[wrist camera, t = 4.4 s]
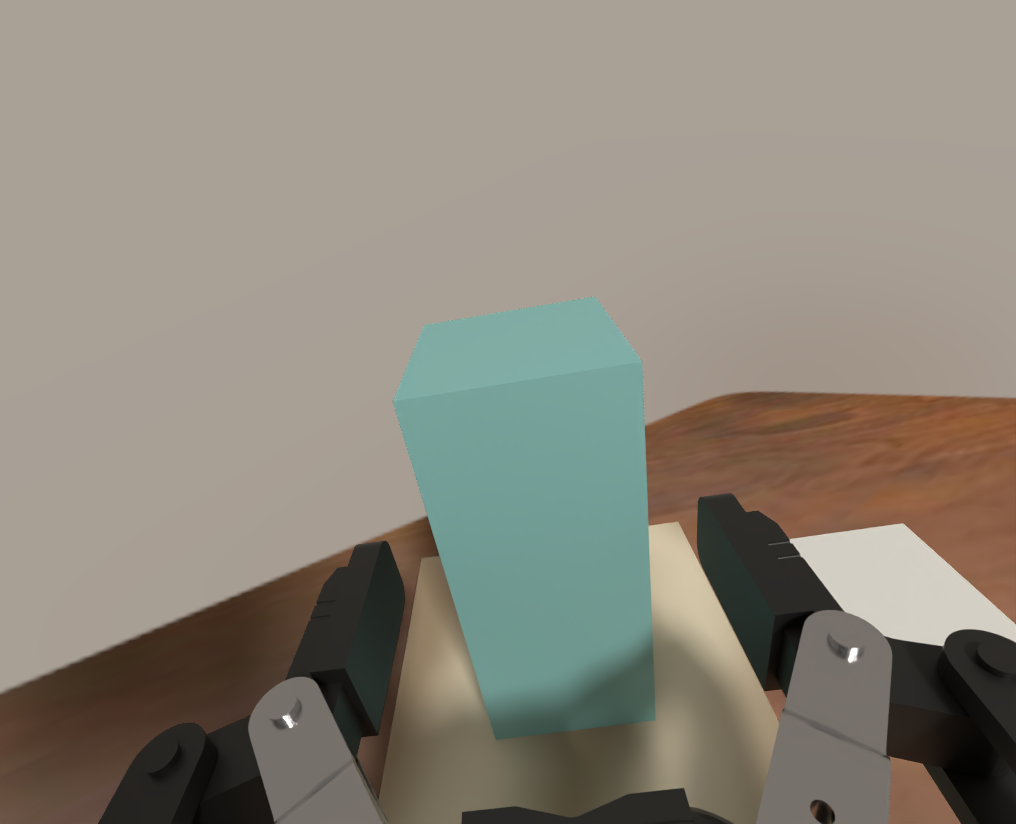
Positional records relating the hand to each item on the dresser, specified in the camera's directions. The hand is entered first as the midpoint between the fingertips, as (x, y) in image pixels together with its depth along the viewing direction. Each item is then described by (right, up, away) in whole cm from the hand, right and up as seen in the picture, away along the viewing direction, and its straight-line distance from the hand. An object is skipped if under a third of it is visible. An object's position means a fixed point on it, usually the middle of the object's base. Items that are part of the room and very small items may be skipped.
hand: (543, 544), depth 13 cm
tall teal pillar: (+1, -5, +5) cm, 7 cm away
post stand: (+1, -7, +5) cm, 9 cm away
